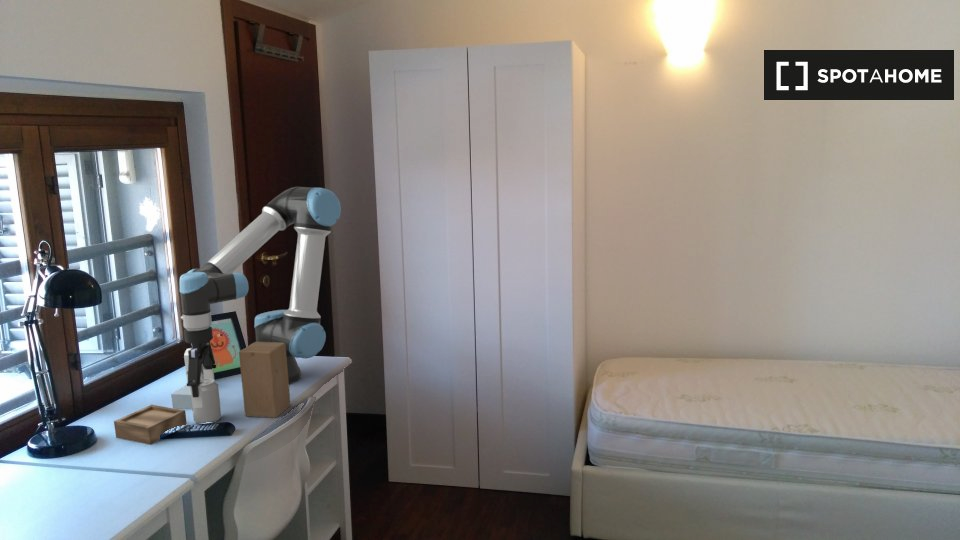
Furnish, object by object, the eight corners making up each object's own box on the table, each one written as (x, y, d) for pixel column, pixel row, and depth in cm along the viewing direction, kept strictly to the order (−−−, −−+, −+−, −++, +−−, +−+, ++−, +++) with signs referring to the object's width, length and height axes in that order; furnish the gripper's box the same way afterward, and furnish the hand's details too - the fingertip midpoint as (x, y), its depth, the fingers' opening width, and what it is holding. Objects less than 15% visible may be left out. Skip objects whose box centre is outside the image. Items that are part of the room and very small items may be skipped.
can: (203, 414, 222) (199, 376, 219) (226, 416, 220) (222, 377, 218) (188, 425, 215) (184, 385, 212) (212, 426, 213) (208, 386, 211)
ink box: (203, 388, 244) (199, 354, 242) (187, 390, 243) (183, 355, 241) (206, 380, 252) (203, 346, 250) (190, 381, 251) (187, 348, 249)
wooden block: (276, 418, 217) (270, 352, 213) (244, 416, 219) (238, 351, 215) (291, 405, 227) (285, 342, 223) (260, 404, 229) (254, 341, 225)
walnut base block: (153, 420, 219) (151, 404, 218) (187, 426, 214) (185, 410, 213) (116, 437, 207) (113, 421, 206) (150, 444, 202) (148, 427, 201)
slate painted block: (188, 399, 235) (186, 384, 234) (211, 401, 233) (209, 385, 232) (173, 409, 227) (171, 394, 226) (196, 410, 226) (195, 395, 225)
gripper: (196, 317, 224) (202, 385, 228) (170, 339, 199) (177, 415, 203) (222, 316, 224) (227, 383, 228) (199, 338, 200) (206, 414, 204)
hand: (204, 398), depth 216 cm, fingers open, 13 cm apart
